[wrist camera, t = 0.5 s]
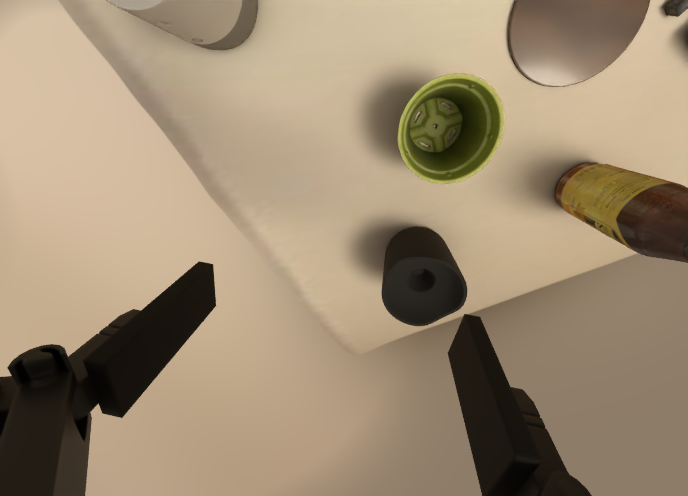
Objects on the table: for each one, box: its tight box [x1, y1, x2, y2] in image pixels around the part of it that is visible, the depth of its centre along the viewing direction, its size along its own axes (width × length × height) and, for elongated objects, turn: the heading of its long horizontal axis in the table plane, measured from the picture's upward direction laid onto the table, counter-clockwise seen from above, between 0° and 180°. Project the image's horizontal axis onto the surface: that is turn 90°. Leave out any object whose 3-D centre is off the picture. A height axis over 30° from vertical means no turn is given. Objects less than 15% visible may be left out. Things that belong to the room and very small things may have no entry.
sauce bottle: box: [555, 163, 688, 263], centre depth 27 cm, size 6×6×20 cm
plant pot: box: [398, 74, 504, 184], centre depth 31 cm, size 9×9×9 cm
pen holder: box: [382, 227, 467, 326], centre depth 38 cm, size 9×9×10 cm
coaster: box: [508, 0, 650, 87], centre depth 29 cm, size 12×12×1 cm
